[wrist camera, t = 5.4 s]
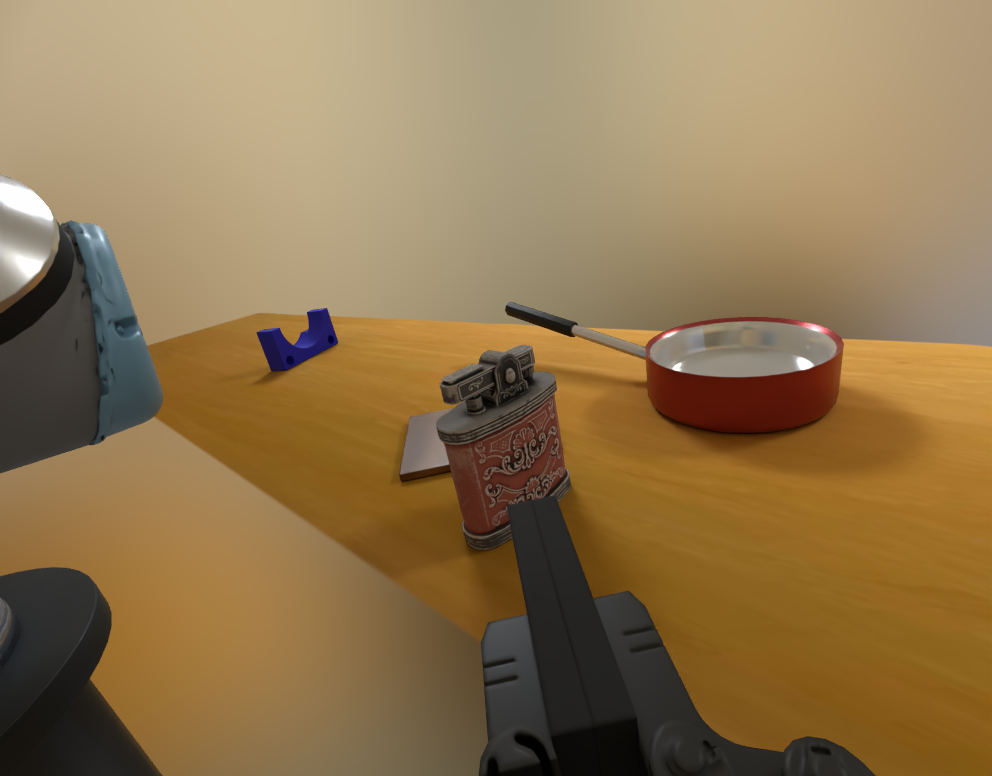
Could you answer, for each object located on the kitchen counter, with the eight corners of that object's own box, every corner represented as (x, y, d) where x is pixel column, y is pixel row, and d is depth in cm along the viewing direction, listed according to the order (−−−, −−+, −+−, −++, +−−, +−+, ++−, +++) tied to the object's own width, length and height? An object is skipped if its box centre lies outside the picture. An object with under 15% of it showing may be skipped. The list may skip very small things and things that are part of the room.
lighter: (543, 468, 32) (520, 329, 28) (583, 484, 30) (563, 334, 26) (452, 534, 27) (410, 378, 24) (490, 559, 25) (449, 389, 21)
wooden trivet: (401, 481, 34) (398, 475, 34) (410, 422, 43) (409, 416, 43) (561, 447, 34) (560, 440, 34) (537, 396, 43) (536, 390, 43)
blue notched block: (317, 344, 80) (306, 310, 78) (338, 342, 78) (327, 308, 76) (264, 371, 70) (249, 333, 68) (286, 370, 68) (271, 331, 66)
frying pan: (462, 382, 50) (449, 326, 48) (538, 342, 58) (530, 292, 56) (809, 455, 28) (818, 356, 26) (855, 374, 36) (864, 294, 34)
